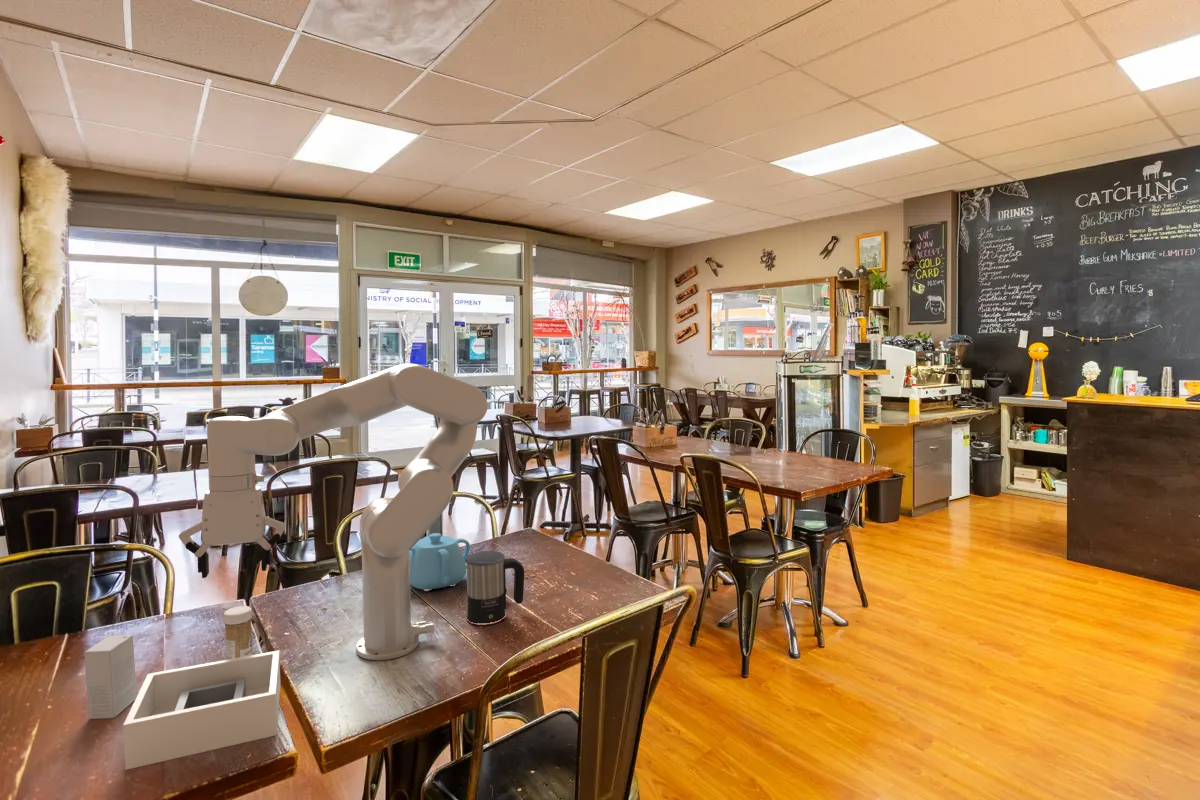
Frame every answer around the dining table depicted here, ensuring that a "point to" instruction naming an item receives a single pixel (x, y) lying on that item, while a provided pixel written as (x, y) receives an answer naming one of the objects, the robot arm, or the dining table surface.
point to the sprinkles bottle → (238, 632)
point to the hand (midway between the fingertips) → (235, 572)
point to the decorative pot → (437, 562)
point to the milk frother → (490, 585)
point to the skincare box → (110, 676)
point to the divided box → (203, 709)
